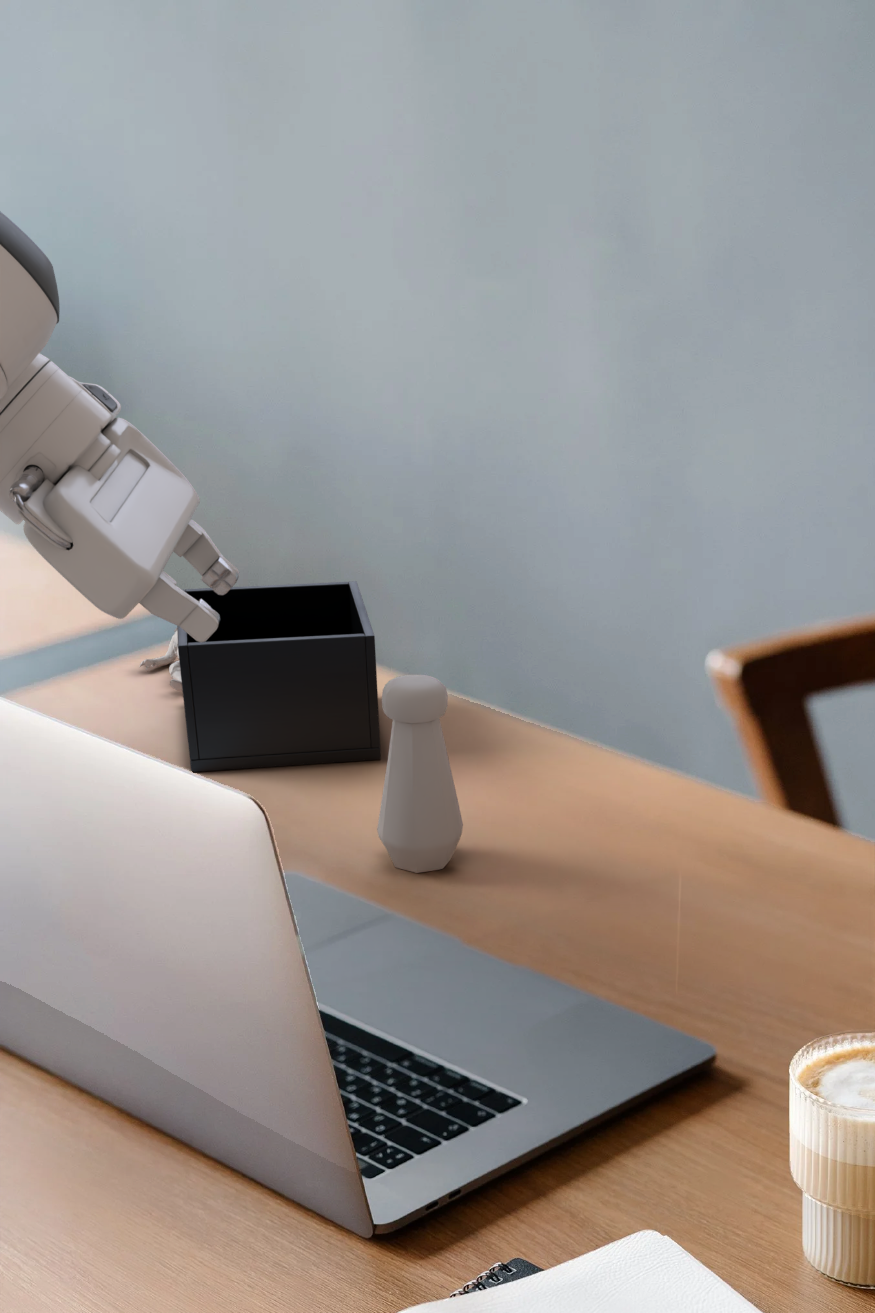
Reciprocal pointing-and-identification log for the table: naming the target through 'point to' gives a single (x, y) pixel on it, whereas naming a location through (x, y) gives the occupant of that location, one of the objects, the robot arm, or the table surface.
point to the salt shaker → (418, 778)
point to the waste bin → (281, 678)
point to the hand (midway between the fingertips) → (223, 607)
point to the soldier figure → (168, 659)
